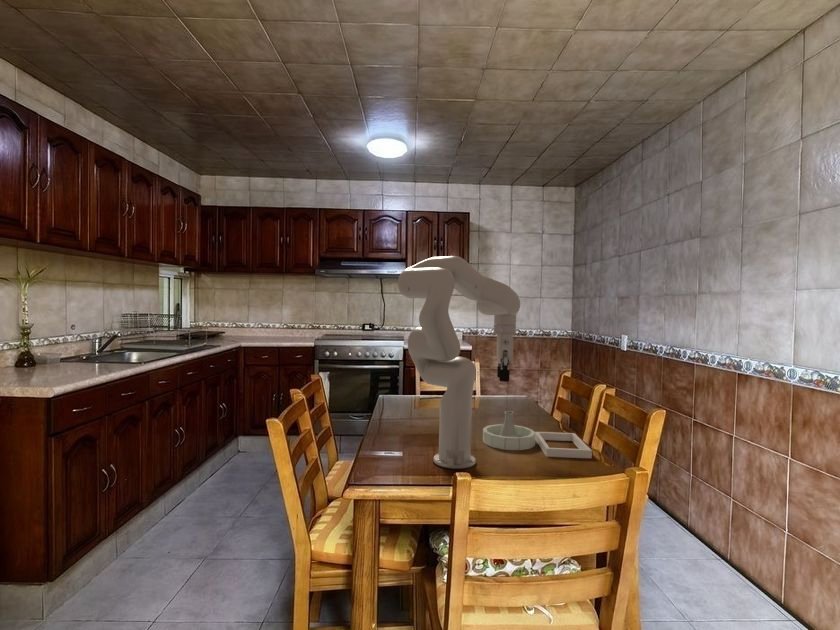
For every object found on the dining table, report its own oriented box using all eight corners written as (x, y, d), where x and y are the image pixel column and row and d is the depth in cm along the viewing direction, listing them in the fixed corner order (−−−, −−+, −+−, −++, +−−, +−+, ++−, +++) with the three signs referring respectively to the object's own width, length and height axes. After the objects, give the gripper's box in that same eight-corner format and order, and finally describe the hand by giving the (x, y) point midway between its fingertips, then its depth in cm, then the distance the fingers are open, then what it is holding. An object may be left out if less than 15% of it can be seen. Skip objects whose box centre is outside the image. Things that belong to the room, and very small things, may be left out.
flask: (519, 444, 157) (519, 415, 156) (497, 442, 158) (498, 413, 158) (519, 438, 164) (519, 410, 163) (498, 437, 165) (498, 409, 165)
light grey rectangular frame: (591, 458, 146) (591, 450, 145) (546, 456, 146) (546, 448, 146) (574, 440, 165) (574, 433, 165) (534, 438, 166) (534, 431, 166)
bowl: (538, 451, 152) (539, 439, 152) (485, 448, 153) (485, 436, 153) (529, 436, 169) (529, 425, 169) (481, 434, 170) (481, 423, 170)
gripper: (518, 331, 152) (516, 383, 152) (513, 329, 170) (511, 376, 170) (495, 330, 153) (493, 382, 153) (492, 328, 170) (490, 375, 170)
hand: (502, 379), depth 161 cm, fingers open, 9 cm apart
